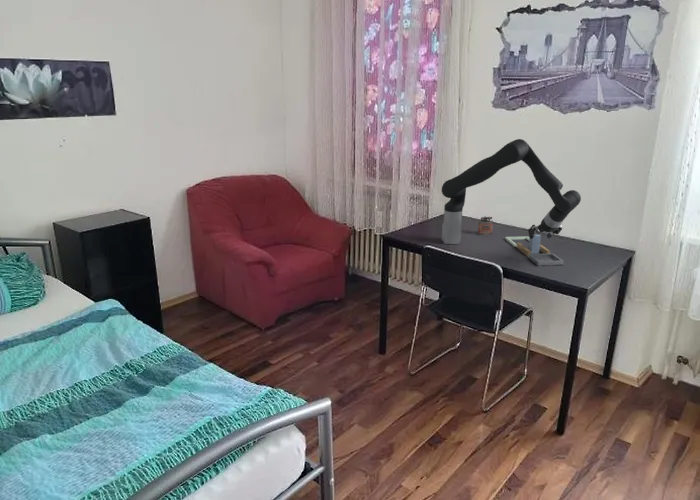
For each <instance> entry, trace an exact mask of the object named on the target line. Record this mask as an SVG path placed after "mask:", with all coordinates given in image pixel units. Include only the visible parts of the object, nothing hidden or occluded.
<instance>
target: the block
mask: <svg viewBox="0 0 700 500" xmlns="http://www.w3.org/2000/svg"><path fill="white" fill-rule="evenodd" d="M528 237H529V236H528ZM541 241H542V235H541V234H539V235H538V234H537V235H535V236H534V237H533V238H532V239H530V237H529V241H528V246H527V249H529V250H530V251H531V254H540V251H539V249H540V244H541Z"/></svg>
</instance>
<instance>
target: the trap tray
mask: <svg viewBox="0 0 700 500" xmlns="http://www.w3.org/2000/svg"><path fill="white" fill-rule="evenodd" d="M528 259H529V260H530V261H532V263H534V264H535V265H536V266H538V267H549V266H550V267H551V266H553V267H554V266H564V265H565V260H563V259H562V258H560V257H559V256H557V255H556V254H555V253H551V252H550V254H543V253H533V254H529V256H528Z"/></svg>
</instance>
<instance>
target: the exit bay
mask: <svg viewBox="0 0 700 500" xmlns="http://www.w3.org/2000/svg"><path fill="white" fill-rule="evenodd" d="M504 240H505V241H507V243H509V244H510V245H512V246H513V247H516V248H517V242H515V241H516V240H527V241H528V242H529V235H527V236H525V235H524V236H505V238H504ZM514 240H515V241H514Z"/></svg>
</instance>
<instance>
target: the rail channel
mask: <svg viewBox="0 0 700 500" xmlns="http://www.w3.org/2000/svg"><path fill="white" fill-rule="evenodd" d="M516 244H517V247H516V249H518V250H519V251H520V252H521V253H523V254H524V255H525V256H526V257H529V254H531V251H530V250H529V249H528V247H526V246H525V245H524V244H523V243H521V242H516ZM539 252H541V254H551V250H550V249H548V248H547V247H546V246H544V245H542V244H541V243H540V249H539Z"/></svg>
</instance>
